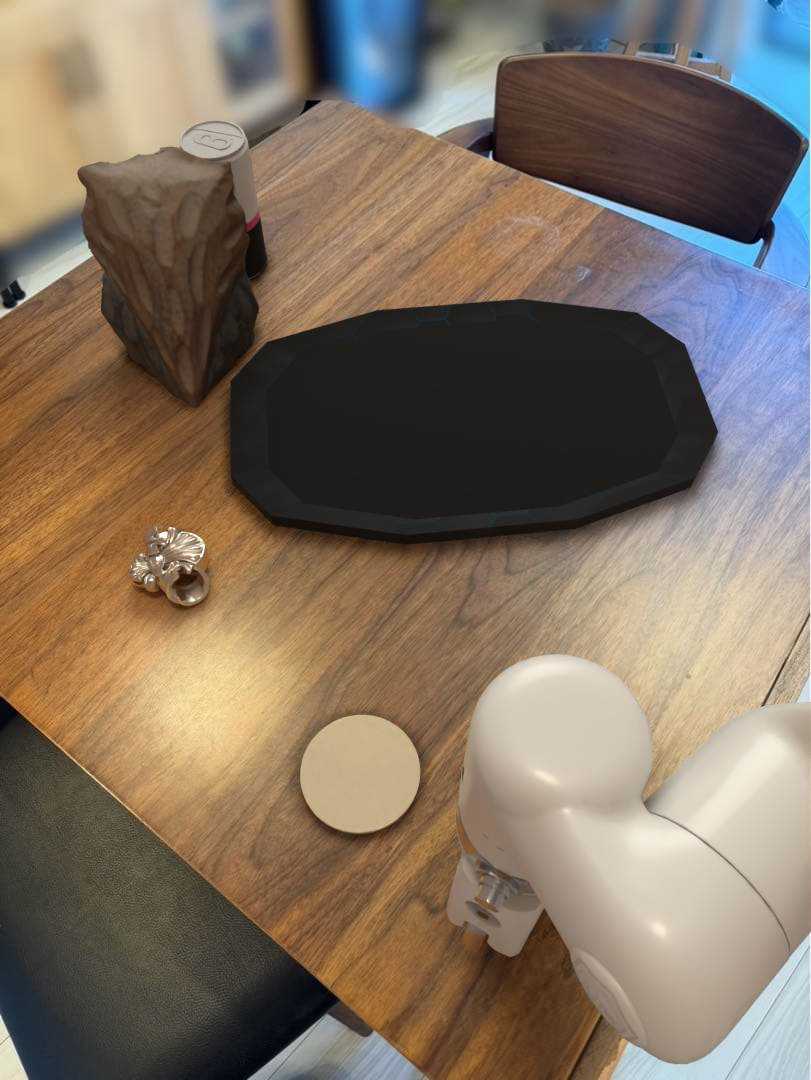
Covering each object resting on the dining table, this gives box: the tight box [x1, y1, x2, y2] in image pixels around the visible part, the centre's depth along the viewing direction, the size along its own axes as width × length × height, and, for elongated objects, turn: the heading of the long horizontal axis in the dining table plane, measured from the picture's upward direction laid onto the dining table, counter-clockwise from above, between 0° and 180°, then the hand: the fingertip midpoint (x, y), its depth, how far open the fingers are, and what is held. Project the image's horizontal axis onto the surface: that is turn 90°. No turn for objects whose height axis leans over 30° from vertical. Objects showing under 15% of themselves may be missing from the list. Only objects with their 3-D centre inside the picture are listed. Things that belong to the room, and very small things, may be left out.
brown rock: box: [76, 146, 260, 409], centre depth 83 cm, size 13×13×20 cm
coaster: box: [299, 714, 421, 835], centre depth 67 cm, size 9×9×1 cm
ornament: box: [127, 525, 210, 607], centre depth 75 cm, size 8×7×4 cm
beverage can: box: [178, 119, 268, 280], centre depth 91 cm, size 7×6×15 cm
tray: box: [229, 298, 719, 545], centre depth 85 cm, size 45×28×2 cm, turn 96°
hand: (498, 886), depth 61 cm, fingers closed
